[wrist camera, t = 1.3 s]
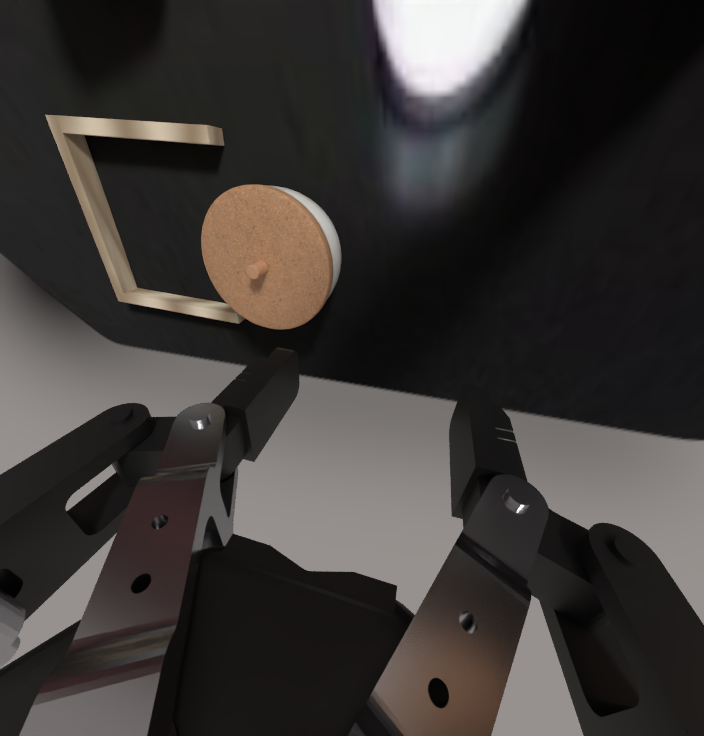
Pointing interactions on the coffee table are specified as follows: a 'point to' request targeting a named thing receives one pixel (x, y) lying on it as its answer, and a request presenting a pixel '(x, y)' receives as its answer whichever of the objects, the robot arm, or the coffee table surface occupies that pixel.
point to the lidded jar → (271, 254)
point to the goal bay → (98, 211)
